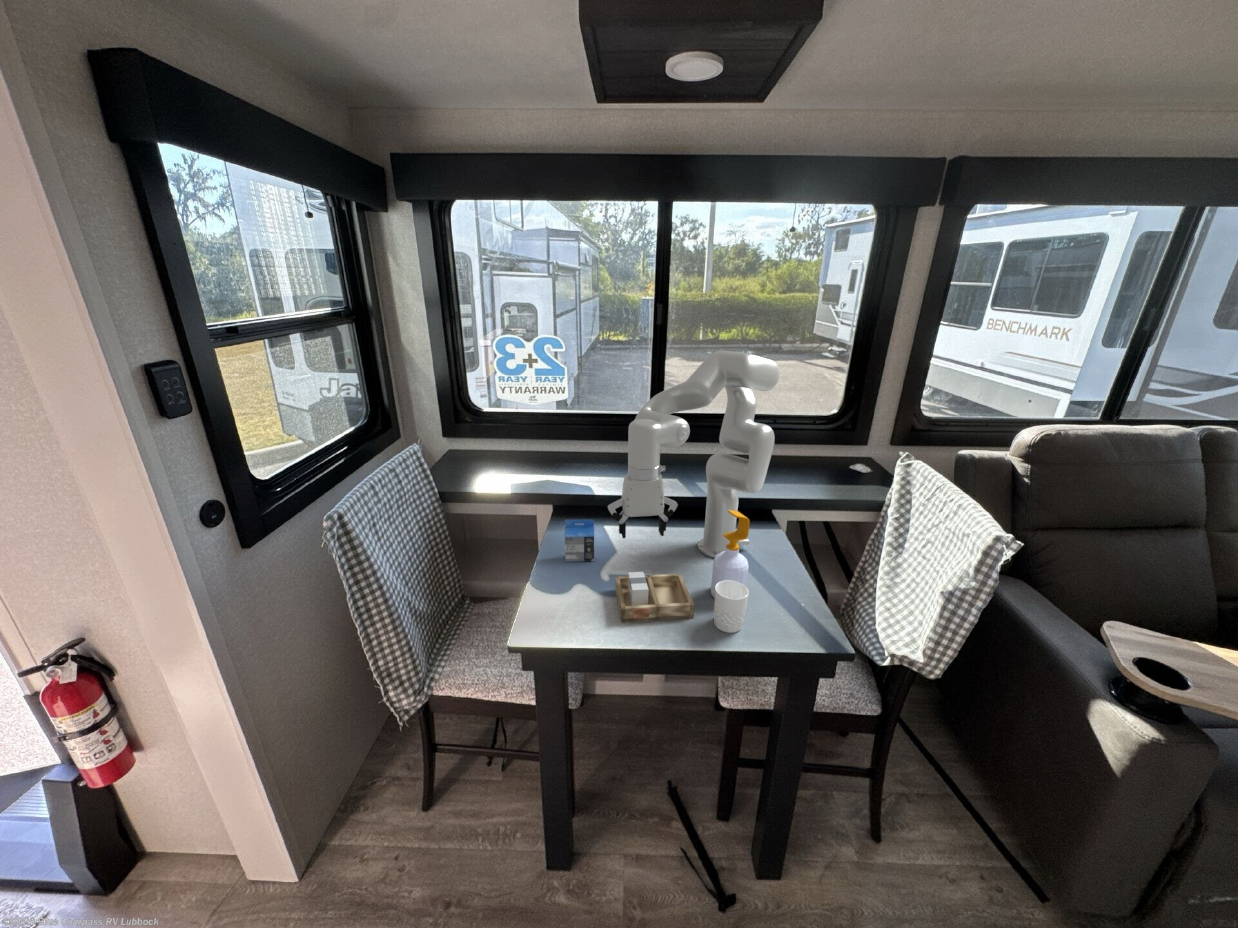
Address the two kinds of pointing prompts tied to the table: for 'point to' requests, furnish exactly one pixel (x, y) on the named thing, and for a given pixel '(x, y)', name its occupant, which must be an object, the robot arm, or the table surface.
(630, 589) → the grey banded white block
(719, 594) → the white cup
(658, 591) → the wooden compartment tray
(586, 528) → the label tape box
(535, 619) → the table surface
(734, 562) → the spray bottle
